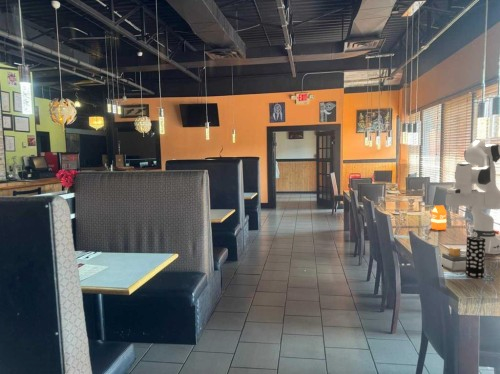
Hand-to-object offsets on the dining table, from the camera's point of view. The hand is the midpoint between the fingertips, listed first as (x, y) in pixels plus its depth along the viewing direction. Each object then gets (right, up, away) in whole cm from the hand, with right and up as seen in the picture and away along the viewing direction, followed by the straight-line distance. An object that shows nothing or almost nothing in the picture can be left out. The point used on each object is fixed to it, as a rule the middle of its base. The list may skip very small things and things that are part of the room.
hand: (462, 213), depth 223 cm
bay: (-6, -30, -7) cm, 31 cm away
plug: (-9, -26, -8) cm, 29 cm away
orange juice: (+35, -21, +98) cm, 107 cm away
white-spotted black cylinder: (-8, -32, -25) cm, 41 cm away
